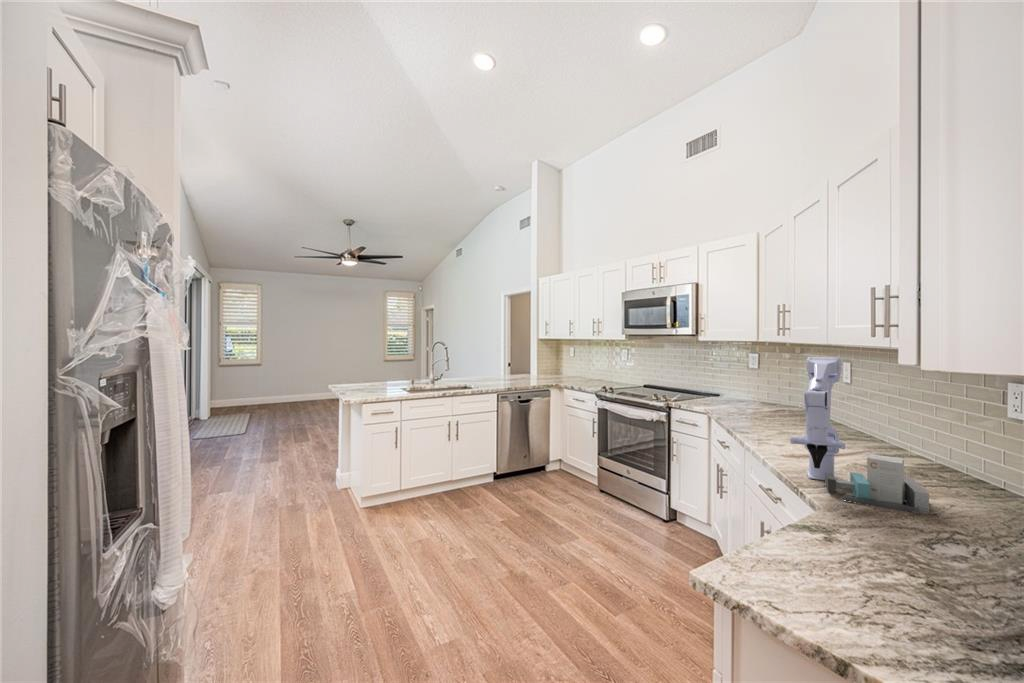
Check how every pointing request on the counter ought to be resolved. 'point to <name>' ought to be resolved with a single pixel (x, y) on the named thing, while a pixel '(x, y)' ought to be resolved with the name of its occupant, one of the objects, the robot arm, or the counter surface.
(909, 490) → the vise
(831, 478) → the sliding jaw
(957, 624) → the counter surface
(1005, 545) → the counter surface
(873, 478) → the small box
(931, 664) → the counter surface
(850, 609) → the counter surface
